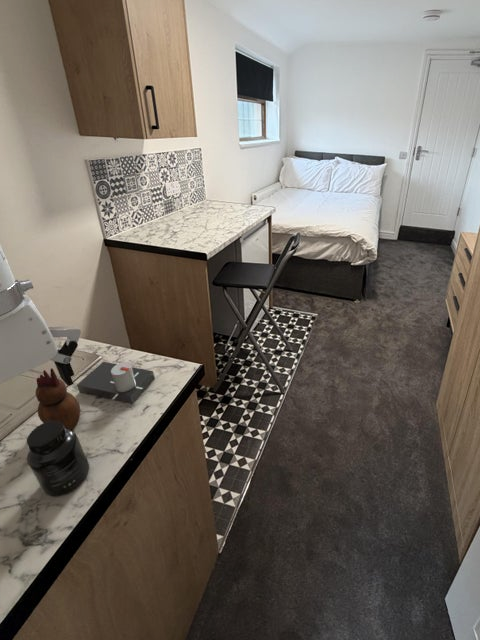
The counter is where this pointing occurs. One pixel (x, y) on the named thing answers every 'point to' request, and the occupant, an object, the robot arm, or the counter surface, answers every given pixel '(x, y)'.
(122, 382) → the hob knob
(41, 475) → the supplement bottle
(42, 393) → the wooden figurine
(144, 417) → the counter surface
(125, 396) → the hob
